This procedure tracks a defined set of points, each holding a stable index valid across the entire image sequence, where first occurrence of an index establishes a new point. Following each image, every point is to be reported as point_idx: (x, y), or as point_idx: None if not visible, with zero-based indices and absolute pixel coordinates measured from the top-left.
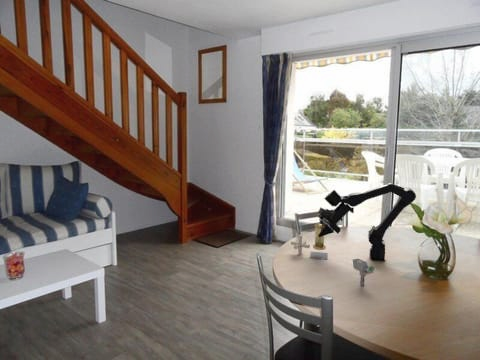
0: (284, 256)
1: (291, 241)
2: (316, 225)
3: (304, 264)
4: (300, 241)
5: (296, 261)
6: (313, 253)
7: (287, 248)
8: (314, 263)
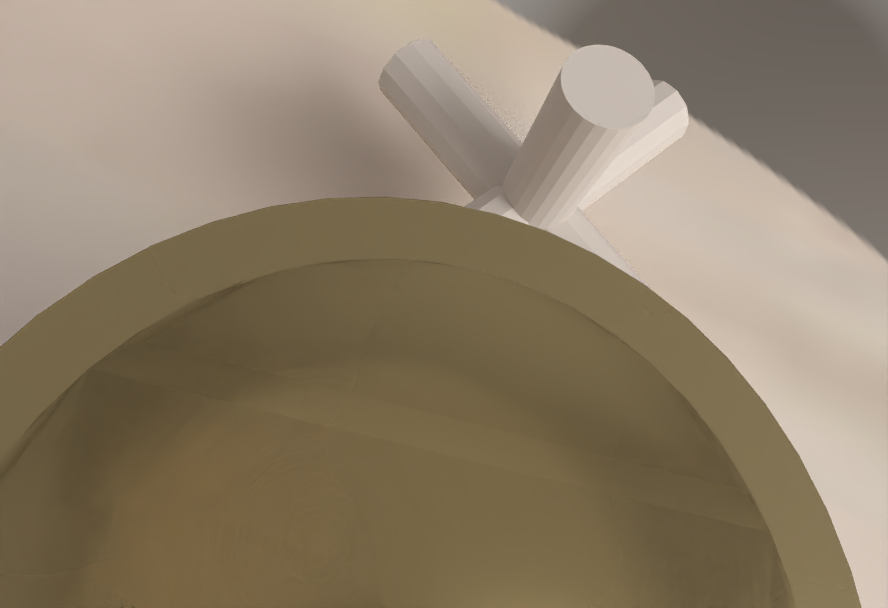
0: (443, 43)
1: (662, 85)
2: (247, 231)
3: (44, 150)
4: (519, 154)
5: (206, 101)
6: None
7: (750, 212)
8: (14, 314)
